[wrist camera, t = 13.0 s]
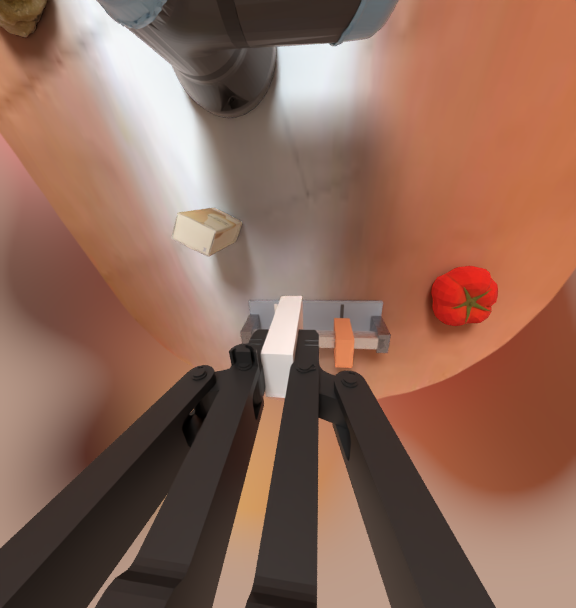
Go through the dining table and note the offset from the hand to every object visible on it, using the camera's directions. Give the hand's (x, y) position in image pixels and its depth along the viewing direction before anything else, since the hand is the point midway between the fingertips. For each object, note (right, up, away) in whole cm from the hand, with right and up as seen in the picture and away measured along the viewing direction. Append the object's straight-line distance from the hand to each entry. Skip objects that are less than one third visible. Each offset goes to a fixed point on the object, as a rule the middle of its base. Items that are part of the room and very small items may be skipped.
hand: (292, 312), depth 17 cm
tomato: (+32, +3, +28) cm, 43 cm away
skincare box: (-13, +16, +28) cm, 35 cm away
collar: (+11, -5, +31) cm, 33 cm away
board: (+5, -3, +35) cm, 35 cm away
